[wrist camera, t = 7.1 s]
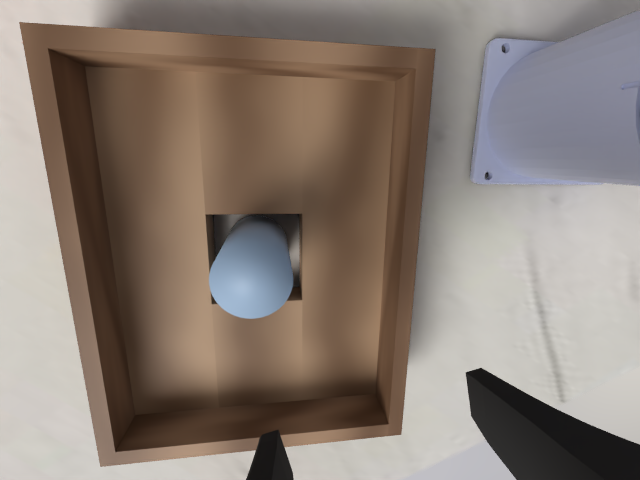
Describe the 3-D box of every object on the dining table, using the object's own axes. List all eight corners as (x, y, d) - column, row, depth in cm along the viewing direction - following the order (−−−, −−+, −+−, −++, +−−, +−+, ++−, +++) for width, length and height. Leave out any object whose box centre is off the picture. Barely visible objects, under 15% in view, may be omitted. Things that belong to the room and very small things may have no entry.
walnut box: (397, 74, 18) (435, 49, 14) (377, 383, 23) (401, 434, 19) (86, 58, 16) (19, 22, 12) (135, 403, 21) (100, 466, 17)
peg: (288, 216, 19) (295, 242, 14) (285, 272, 20) (291, 318, 15) (227, 214, 19) (208, 239, 13) (227, 271, 20) (209, 318, 14)
